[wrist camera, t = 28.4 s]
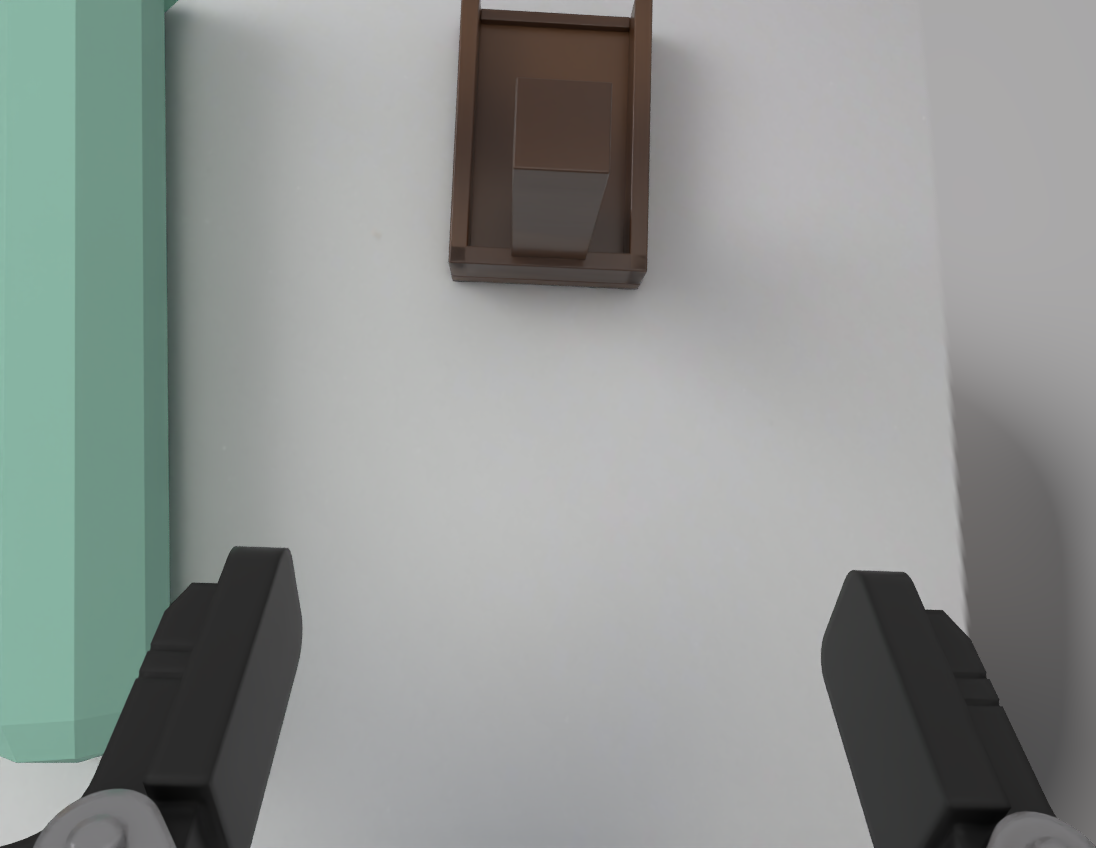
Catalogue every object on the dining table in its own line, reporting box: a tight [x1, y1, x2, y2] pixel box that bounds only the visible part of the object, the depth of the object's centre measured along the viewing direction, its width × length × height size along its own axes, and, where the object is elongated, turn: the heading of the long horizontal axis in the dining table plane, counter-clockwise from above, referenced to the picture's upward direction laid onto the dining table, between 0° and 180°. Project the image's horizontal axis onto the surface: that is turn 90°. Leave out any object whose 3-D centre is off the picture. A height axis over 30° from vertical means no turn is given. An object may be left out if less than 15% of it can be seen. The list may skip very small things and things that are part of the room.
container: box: [0, 0, 178, 763], centre depth 27 cm, size 6×6×25 cm
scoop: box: [449, 0, 653, 289], centre depth 27 cm, size 10×6×9 cm
